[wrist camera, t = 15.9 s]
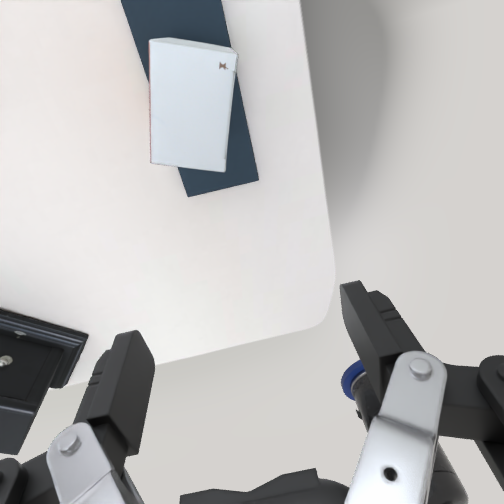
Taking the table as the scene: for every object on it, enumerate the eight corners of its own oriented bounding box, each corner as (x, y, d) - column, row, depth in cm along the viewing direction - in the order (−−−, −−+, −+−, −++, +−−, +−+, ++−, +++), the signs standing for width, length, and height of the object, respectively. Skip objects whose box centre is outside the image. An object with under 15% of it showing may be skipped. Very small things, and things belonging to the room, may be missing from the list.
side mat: (258, 178, 37) (259, 180, 37) (188, 195, 38) (187, 197, 37) (200, -95, 26) (200, -97, 25) (99, -67, 26) (96, -70, 25)
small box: (168, 36, 29) (146, 34, 20) (232, 47, 30) (239, 50, 21) (166, 131, 33) (147, 165, 24) (223, 139, 34) (225, 174, 25)
